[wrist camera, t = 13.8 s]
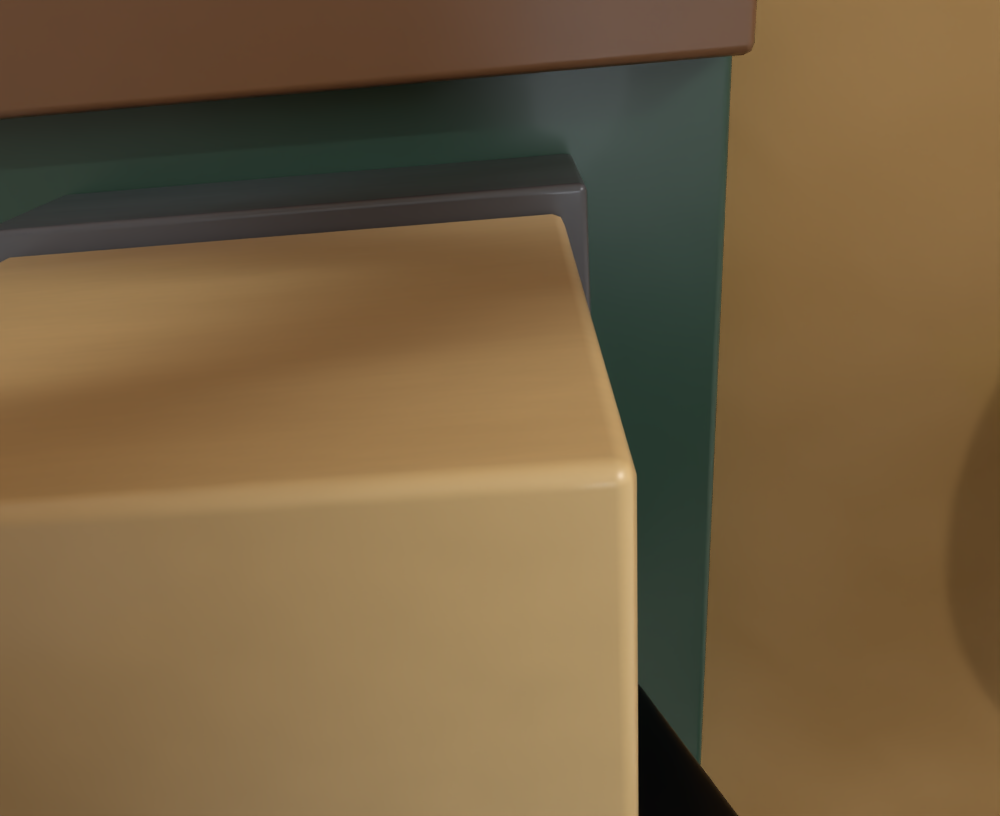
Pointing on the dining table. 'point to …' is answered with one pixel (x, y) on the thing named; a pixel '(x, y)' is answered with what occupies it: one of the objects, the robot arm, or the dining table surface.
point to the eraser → (314, 502)
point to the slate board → (440, 140)
